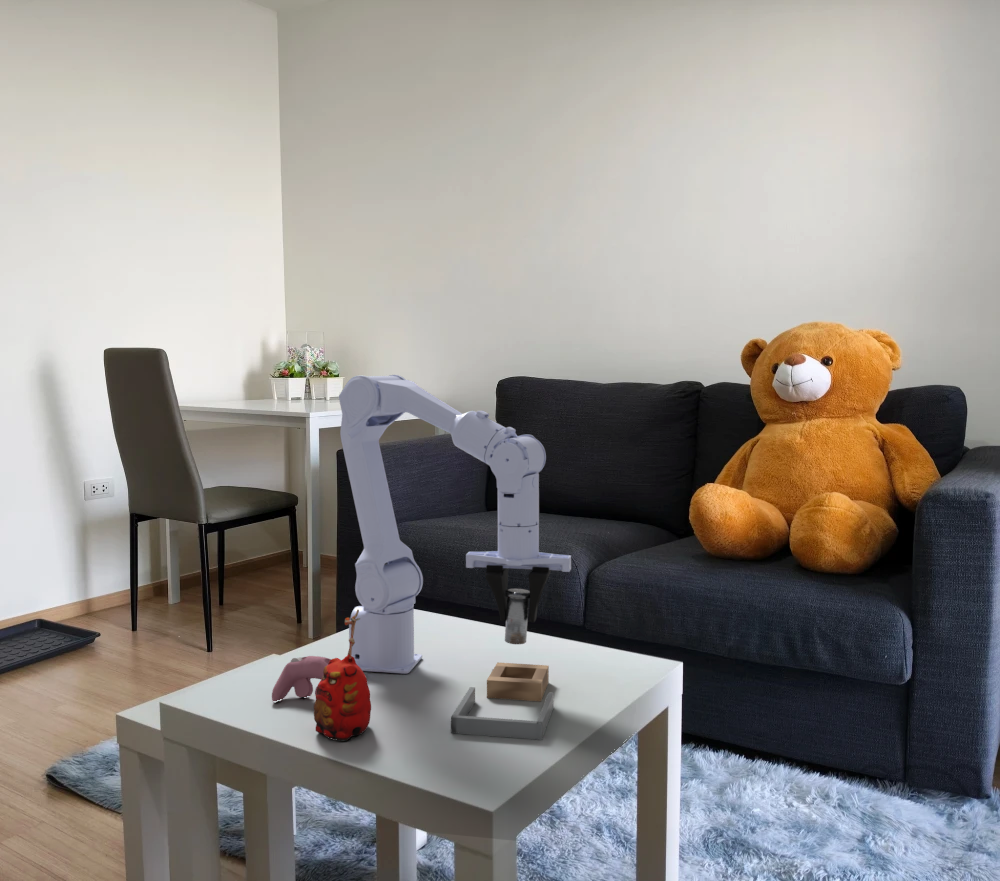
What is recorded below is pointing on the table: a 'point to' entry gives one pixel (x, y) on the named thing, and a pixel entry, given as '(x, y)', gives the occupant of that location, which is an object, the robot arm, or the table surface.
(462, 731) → the grey u-shaped bracket
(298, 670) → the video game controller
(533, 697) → the wooden square frame
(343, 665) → the red clay folk toy
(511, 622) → the silver cylindrical piece
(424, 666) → the table surface
